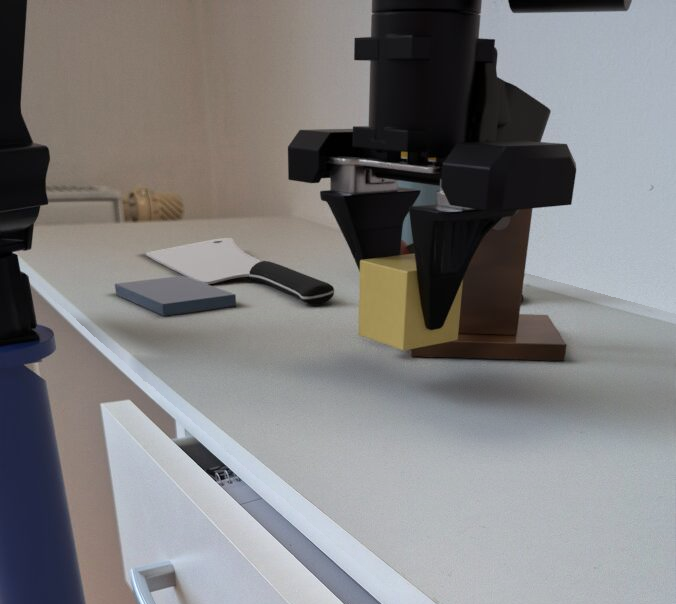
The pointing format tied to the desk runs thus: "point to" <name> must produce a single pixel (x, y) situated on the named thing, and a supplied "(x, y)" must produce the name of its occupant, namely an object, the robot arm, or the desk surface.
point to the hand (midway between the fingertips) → (408, 320)
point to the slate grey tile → (175, 295)
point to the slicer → (500, 303)
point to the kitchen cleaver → (239, 269)
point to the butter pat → (399, 305)
